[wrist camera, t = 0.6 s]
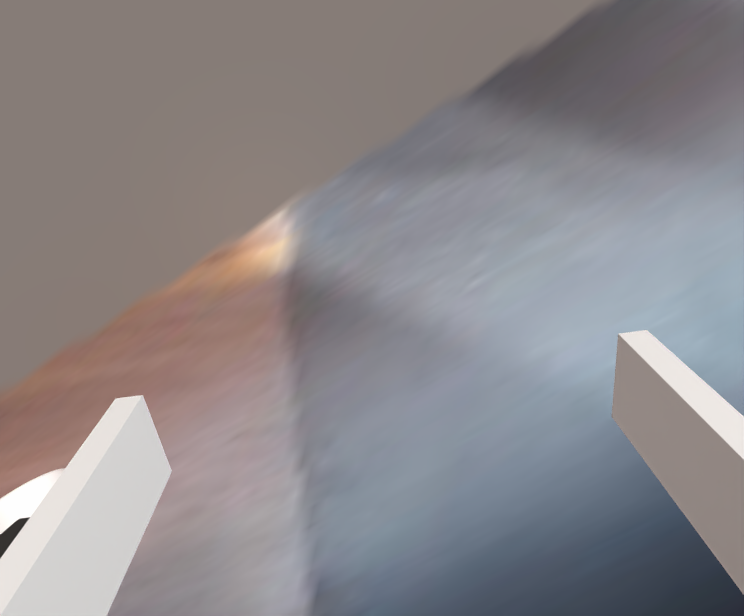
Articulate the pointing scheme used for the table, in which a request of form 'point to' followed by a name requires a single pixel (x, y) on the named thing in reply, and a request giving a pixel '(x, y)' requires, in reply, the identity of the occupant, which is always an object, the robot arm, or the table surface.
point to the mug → (26, 499)
